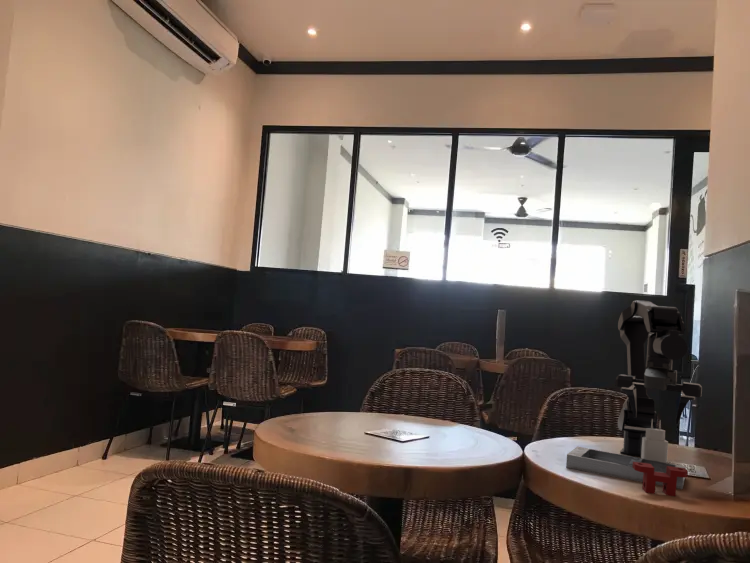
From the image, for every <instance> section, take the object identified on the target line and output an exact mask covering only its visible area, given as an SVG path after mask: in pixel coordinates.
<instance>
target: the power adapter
mask: <svg viewBox="0 0 750 563" xmlns="http://www.w3.org/2000/svg"><path fill="white" fill-rule="evenodd" d="M661 421H662V420H661V419H659V424H658V428H656V429H653V419H652V422H651V428H646V437H642V450H641V457H640V458H643V459H648V460H654V461H659V462H664V463H668V450H669V441H668V440H666V430H664V429H661V428H662V427H661V426H662V425H661V423H662V422H661Z"/></svg>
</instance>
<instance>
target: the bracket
mask: <svg viewBox="0 0 750 563" xmlns="http://www.w3.org/2000/svg"><path fill="white" fill-rule="evenodd" d="M633 468H634V470H636V471H639V472H644V473H643V482H642V487H641V488H642V491H644V492H645V493H646V494H655V492H656V481H657V482H663V486H662V493H664V494H665V495H666V496H671V497H676V495H677V494H676V493H677V488H676V483H677V477H683V478H685V479H686V478H688V475H689V474H688V472H689V471H688V469H685V468H679V467H672V466H667V468H666V473H661V472H654V467H653V466H652V465H651V464H648V463H640V462H633Z"/></svg>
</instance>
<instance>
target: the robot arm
mask: <svg viewBox="0 0 750 563" xmlns="http://www.w3.org/2000/svg"><path fill="white" fill-rule="evenodd" d="M617 328H618V331H619V334H620V339H621V341H623V343H624V344H625V346H626V354H627V355H626V356H627V358H626V359H627V374H618V375H617V376H616V377H615V382H614V383H615V387H619V388H620V391H622V392H625V395H626V396H627V397H626V399H625V401H623V402H624V403H623V404H622V408H621V410H620V412H619V415H618V419H617V428H618V429H619V430H620V431H621V432H623V443H622V444H623V445H622V446H623V448H622V449H620V451H619V454H622V455H627V456H632V457H638V458H641V450H642V437H646V428H651V422H652V419H653V429H657V425H658V421H659V416H658V414H657V411H656V409H655V408H656V407H655V400H654V398H650V396H649V395H648V392H647V391H648V390H647V389H653V390H654V389H655V390H660V391H668V392H669V391H670V392H678V393H681V395H680V397H679V403H678V408H677V411H676V412H677V413H676V417H675V425H678V424H679V422H680V419H681V417H682V415H683V412H684V410H685V408H686V406H687V405H688V403H689V402H690V401H695V400H696V398H702V395H703V394H702V392H703V386H702V385H701V384H700V383H695V382H687V381H683V383H682V384H679V383H677V382H678V370H675V369H673V361H675V360H680V359H682V358H684V356H686V354H687V353H688V345H687V342H686V340H685V339H684V337H681V336H684V335H685V330H686V325H685V322H684V321H683V317H682V315H681V313H680V311H679V309H678V308H677V307H676V306H666V305H665V306H663V305H656V304H655V303H653V302H652V301H650V300H639V299H638V300H637V299H635V300H633V301H632V302H631V305H630V306H628V307H626V308H625V309H624V310H622V311H621V313H620V316H619V319H618V323H617ZM646 341H647V347H646V350H645V343H646ZM645 352H646V353H645ZM645 354H646V355H645Z"/></svg>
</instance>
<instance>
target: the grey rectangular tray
mask: <svg viewBox="0 0 750 563" xmlns="http://www.w3.org/2000/svg"><path fill="white" fill-rule="evenodd" d="M633 462H640V463H648V464H651V465H652V466H653V467H654V472H661V473H666V468H667V466H672V467H679V468H685V469H686V467H687V466H685V465H680V464H675V463H668V462H667V463H664V462H659V461H654V460H648V459H643V458H641V457H638V456H633V455H628V454H622V453H616V452H615V453H614V452H610V451H605V450H604V451H603V450H600V449H599V450H598V449H592V448H588V447H583V446H579V445H578V446H576V447H574V449H572V450H571V451H569V452H568V453H567V454H566V463H565V464H566V465H565V467H566V468H567V469H572V470H576V471H582V472H587V473H592V474H596V475H602V476H608V477H612V478H618V479H623V478H624V479H625V480H629V481H635V482H641V483H643V473H644V472H639V471H636V470H634V468H633ZM686 470H687V469H686ZM685 479H686V477H685V478H683V477H677V483H676V490H677V489H679V490H683V488H684V484H685V481H686V480H685ZM656 485H658V486H662V487H663V482H657V481H656V484H655V486H656Z"/></svg>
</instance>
